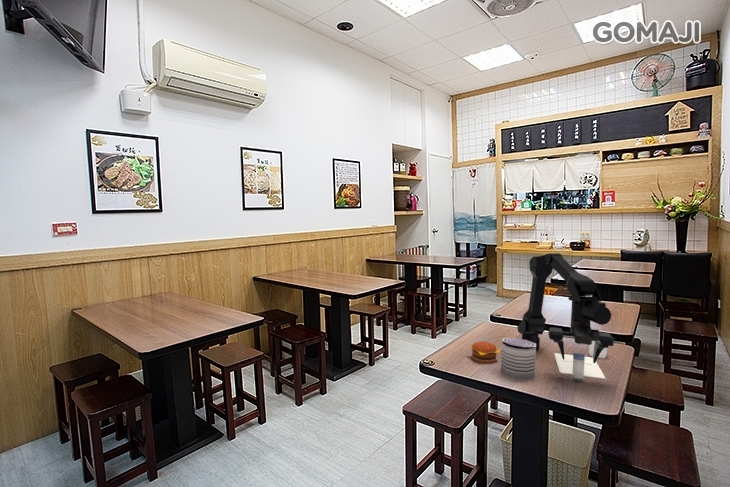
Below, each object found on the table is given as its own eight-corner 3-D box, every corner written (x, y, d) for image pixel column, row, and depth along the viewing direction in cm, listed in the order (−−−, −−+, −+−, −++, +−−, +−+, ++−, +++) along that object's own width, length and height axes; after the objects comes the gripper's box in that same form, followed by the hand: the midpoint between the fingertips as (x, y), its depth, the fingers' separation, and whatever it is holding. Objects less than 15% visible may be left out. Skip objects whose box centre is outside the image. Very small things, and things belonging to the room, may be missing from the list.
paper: (559, 373, 137) (560, 372, 137) (554, 353, 156) (554, 352, 156) (605, 379, 132) (605, 378, 132) (593, 358, 151) (593, 357, 151)
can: (493, 370, 139) (494, 338, 138) (517, 365, 144) (518, 334, 143) (518, 383, 129) (519, 348, 128) (542, 377, 133) (544, 343, 132)
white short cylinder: (610, 359, 150) (611, 341, 149) (591, 358, 151) (592, 340, 150) (603, 353, 156) (604, 336, 156) (585, 351, 158) (586, 335, 157)
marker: (572, 381, 130) (574, 355, 130) (571, 377, 134) (572, 351, 133) (584, 382, 129) (585, 356, 128) (582, 378, 132) (583, 353, 132)
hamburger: (486, 353, 156) (486, 337, 155) (501, 362, 147) (502, 345, 146) (466, 356, 153) (466, 339, 152) (480, 365, 144) (481, 348, 143)
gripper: (552, 319, 125) (550, 366, 127) (619, 325, 119) (616, 374, 120) (549, 311, 136) (547, 354, 137) (610, 316, 129) (608, 361, 131)
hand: (578, 361), depth 131 cm, fingers open, 9 cm apart
